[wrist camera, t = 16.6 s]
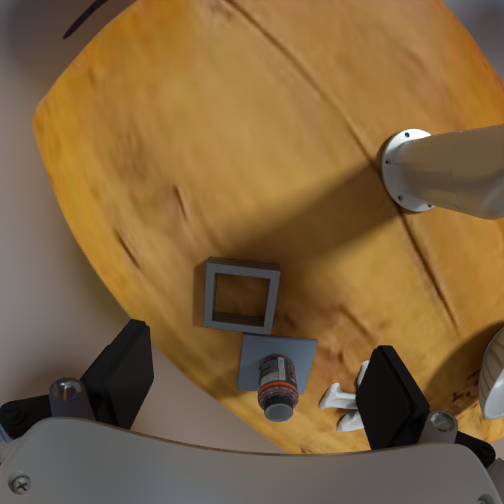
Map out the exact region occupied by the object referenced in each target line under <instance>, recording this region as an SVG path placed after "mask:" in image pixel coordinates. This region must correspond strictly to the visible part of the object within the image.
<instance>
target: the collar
mask: <svg viewBox="0 0 504 504" xmlns="http://www.w3.org/2000/svg"><path fill="white" fill-rule="evenodd" d="M218 273H225V274H234V275H242V276H251V277H260V278H268V279H269V284H268V291H267V298H266V306H265V313H264V317H254V316H246V315H237V314H229V313H221V312H215V303H216V288H217V274H218ZM280 273H281V270H280V265H279V264H270V263H261V262H253V261H244V260H235V259H227V258H218V257H210V258H209V260H208V261H207V266H206V283H205V302H204V326H203V327H209V328H216V329H224V330H232V331H240V332H248V333H258V334H267V335H271V331H272V325H273V318H274V312H275V306H276V299H277V293H278V286H279V279H280Z"/></svg>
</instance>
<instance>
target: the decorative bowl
mask: <svg viewBox="0 0 504 504" xmlns="http://www.w3.org/2000/svg"><path fill="white" fill-rule="evenodd" d="M482 363H483V364H482V367H481V371H480V376H479V385H478V393H479V402H480V407H481V411H482V414H483V416H484V418H485V419H487V420H495V419H498V418H500V417H502V416H504V327H503V328H501V329H500V330H499V331H498V332H497V333H496V334H495V335H494V337H493V338H492V339H491V341H490V342H489V344H488V346H487V348H486V350H485V352H484V355H483V361H482Z"/></svg>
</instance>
